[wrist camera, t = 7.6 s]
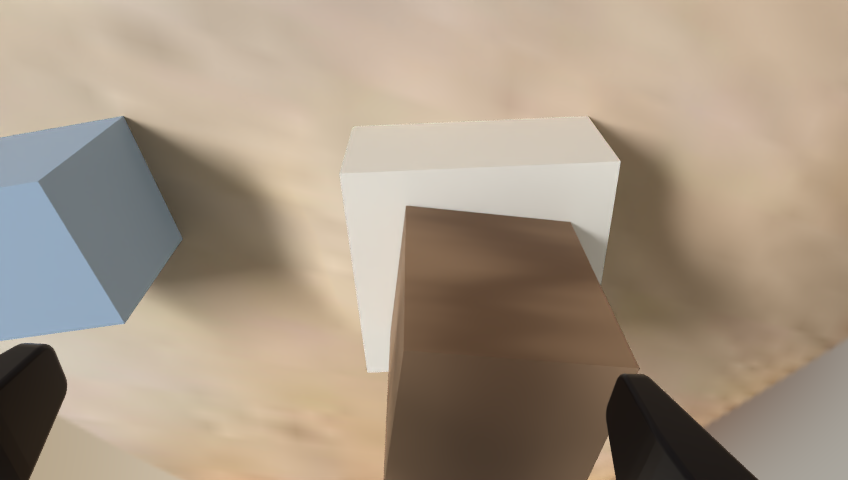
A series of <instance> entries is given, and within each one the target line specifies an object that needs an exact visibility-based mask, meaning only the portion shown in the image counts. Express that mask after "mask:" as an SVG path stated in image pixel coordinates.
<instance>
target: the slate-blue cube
mask: <svg viewBox="0 0 848 480" xmlns="http://www.w3.org/2000/svg"><path fill="white" fill-rule="evenodd" d="M182 239H183V238H182V236H181V234H180V232H179V230H178V228H177V226H176V224H175V222H174V220H173V218H172V215H171V213H170V211H169V209H168V207H167V205H166V203H165V201H164V199H163V197H162V195H161V193H160V191H159V189H158V187H157V184H156V182H155V180H154V178H153V176H152V174H151V172H150V170H149V168H148V166H147V164H146V162H145V160H144V158H143V156H142V153H141V151H140V149H139V147H138V145H137V143H136V141H135V139H134V137H133V135H132V133H131V131H130V129H129V127H128V125H127V122H126V120H125V118H124V116H121V117H115V118H110V119H104V120H98V121H93V122H87V123H81V124H75V125H70V126H64V127H58V128H53V129H47V130H41V131H36V132H30V133H24V134H19V135H13V136H7V137H2V138H0V341H3V340H10V339H17V338H24V337H32V336H39V335H46V334H53V333H60V332H68V331H75V330H82V329H89V328H96V327H104V326H111V325H118V324H125V322H126V321H127V320H128V318H129V317H130V315H131V314H132V312H133V311H134V309H135V308H136V306H137V305H138V303H139V302H140V301H141V299H142V298H143V296H144V295H145V293H146V292H147V290H148V289H149V287H150V286H151V284H152V283H153V282H154V280H155V279H156V277H157V276H158V274H159V273H160V271H161V270H162V268H163V267H164V265H165V264H166V263H167V261H168V260H169V258H170V257H171V255H172V254H173V252H174V251H175V249H176V248H177V247H178V245H179V244H180V242H181V241H182Z"/></svg>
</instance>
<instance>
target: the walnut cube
mask: <svg viewBox="0 0 848 480" xmlns="http://www.w3.org/2000/svg"><path fill="white" fill-rule="evenodd" d="M639 369H640V368H639V366H638V364H637V362H636V360H635V358H634V356H633V354H632V351H631V349H630V347H629V345H628V343H627V341H626V339H625V337H624V334H623V332H622V330H621V328H620V326H619V324H618V322H617V320H616V317H615V315H614V313H613V311H612V309H611V307H610V305H609V303H608V300H607V298H606V296H605V294H604V292H603V290H602V288H601V286H600V284H599V281H598V279H597V277H596V275H595V273H594V271H593V269H592V267H591V264H590V262H589V260H588V258H587V256H586V254H585V252H584V250H583V247H582V245H581V243H580V241H579V239H578V237H577V235H576V233H575V230H574V228H573V226H572V224H571V222H566V221H556V220H546V219H536V218H526V217H515V216H505V215H495V214H485V213H475V212H465V211H455V210H445V209H435V208H425V207H415V206H406V209H405V217H404V225H403V233H402V242H401V250H400V258H399V266H398V274H397V282H396V291H395V299H394V307H393V315H392V323H391V331H390V352H389V374H388V395H387V417H386V439H385V461H384V480H587V479H588V477H589V475H590V473H591V471H592V469H593V467H594V464H595V462H596V460H597V458H598V456H599V454H600V452H601V450H602V447H603V445H604V443H605V441H606V439H607V437H608V429H607V423H606V408H607V404H608V402H609V399H610V396H611V394H612V391H613V388H614V385H615V383H616V380H617V378H618V377H619V376H620V375H621V374H624V373H626V374H637V373H638V371H639Z"/></svg>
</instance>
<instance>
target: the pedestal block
mask: <svg viewBox="0 0 848 480" xmlns="http://www.w3.org/2000/svg"><path fill="white" fill-rule="evenodd" d="M620 163H621V161H620V160H619V158H618V157H617V156H616V154H615V153H614V151H613V150H612V149H611V147H610V146H609V145H608V143H607V142H606V140H605V139H604V138H603V136H602V135H601V134H600V132H599V131H598V129H597V128H596V127H595V125H594V124H593V122H592V121H591V120H590V118H589V117H588V116H574V117H552V118H529V119H506V120H483V121H461V122H438V123H415V124H393V125H370V126H353V128H352V131H351V135H350V138H349V142H348V145H347V149H346V152H345V156H344V159H343V163H342V166H341V170H340V173H339V174H340V181H341V189H342V196H343V203H344V210H345V217H346V224H347V231H348V238H349V245H350V252H351V259H352V266H353V273H354V281H355V288H356V295H357V302H358V309H359V316H360V323H361V330H362V337H363V344H364V351H365V358H366V366H367V372H389V352H390V331H391V323H392V315H393V307H394V299H395V291H396V282H397V274H398V266H399V258H400V250H401V242H402V233H403V225H404V217H405V209H406V206H415V207H425V208H435V209H445V210H455V211H465V212H475V213H485V214H495V215H505V216H515V217H526V218H536V219H546V220H556V221H566V222H571V224H572V226H573V228H574V230H575V233H576V235H577V237H578V239H579V241H580V243H581V245H582V247H583V250H584V252H585V254H586V256H587V258H588V260H589V262H590V264H591V267H592V269H593V271H594V273H595V275H596V277H597V279H598V281H599V284H600V286H601V282H602V275H603V269H604V263H605V257H606V250H607V244H608V238H609V232H610V225H611V219H612V213H613V207H614V200H615V194H616V188H617V182H618V176H619V169H620Z"/></svg>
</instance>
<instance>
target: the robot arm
mask: <svg viewBox="0 0 848 480" xmlns="http://www.w3.org/2000/svg"><path fill="white" fill-rule="evenodd" d="M66 391H67V380H66V377H65V374H64V372H63V370H62V367H61V365H60V362H59V360H58V357H57V355H56V353H55V350H54V349H53V348H52V347H51V346H50V345H47V344H34V343H23V344H19V345H17V346H15V347H13V348H11V349H9V350H7V351H6V352H4V353H2V354H0V480H29V478H30V476H31V474H32V472H33V470H34V467H35V465H36V463H37V460H38V458H39V456H40V453H41V451H42V449H43V446H44V444H45V442H46V439H47V437H48V435H49V432H50V430H51V428H52V426H53V423H54V421H55V419H56V416H57V414H58V412H59V409H60V407H61V405H62V402H63V400H64V398H65V395H66ZM606 423H607V429H608V435H609V441H610V447H611V452H612V458H613V464H614V470H615V475H616V480H758V479H757V478H756V477H755V476H754V475H753V474H752V473H751V472H749V471H748V470H747V469H746V468H745V467H744V466H743V465H742V464H741V463H740V462H739V461H738V460H737V459H736V458H735V457H733V456H732V455H731V454H730V453H729V452H728V451H727V450H726V449H725V448H724V447H723V446H722V445H721V444H720V443H719V442H718V441H717V440H715V439H714V438H713V437H712V436H711V435H710V434H709V433H708V432H707V431H706V430H705V429H704V428H703V427H702V426H701V425H699V424H698V423H697V422H696V421H695V420H694V419H693V418H692V417H691V416H690V415H689V414H688V413H687V412H686V411H685V410H684V409H682V408H681V407H680V406H679V405H678V404H677V403H676V402H675V401H674V400H673V399H672V398H671V397H670V396H669V395H668V394H666V393H665V392H664V391H663V390H662V389H661V388H660V387H659V386H658V385H657V384H656V383H655V382H654V381H653V380H652V379H650V378H649V377H648V376H646V375H643V374H626V373H624V374H621V375H620V376H619V377H618V378H617V380H616V383H615V385H614V388H613V391H612V394H611V396H610V399H609V402H608V404H607V408H606Z"/></svg>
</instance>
